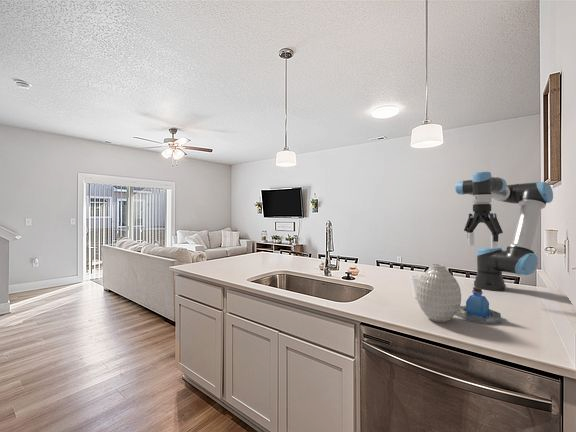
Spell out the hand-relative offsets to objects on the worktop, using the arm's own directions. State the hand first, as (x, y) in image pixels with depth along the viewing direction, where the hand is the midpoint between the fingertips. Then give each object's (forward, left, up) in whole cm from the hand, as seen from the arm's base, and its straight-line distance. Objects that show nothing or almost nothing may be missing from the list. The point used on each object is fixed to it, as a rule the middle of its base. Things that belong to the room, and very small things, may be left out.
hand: (482, 246), depth 137 cm
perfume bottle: (+19, +18, -27) cm, 38 cm away
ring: (+19, +18, -27) cm, 37 cm away
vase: (+37, +18, -27) cm, 49 cm away
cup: (+27, -9, -27) cm, 39 cm away
